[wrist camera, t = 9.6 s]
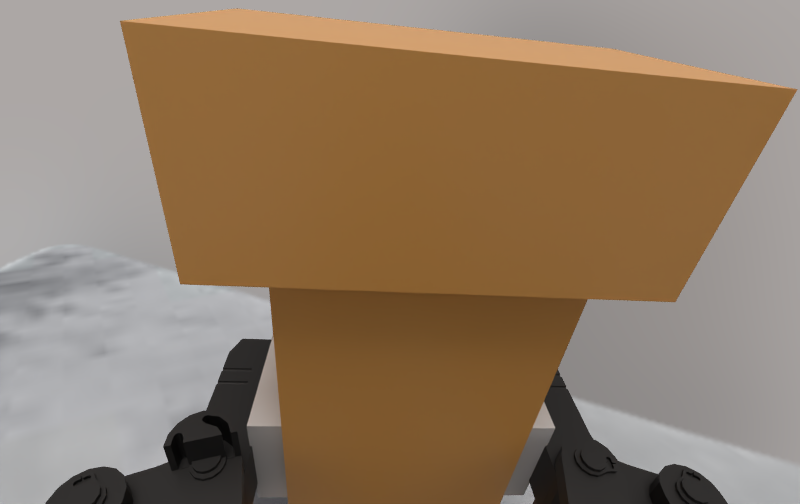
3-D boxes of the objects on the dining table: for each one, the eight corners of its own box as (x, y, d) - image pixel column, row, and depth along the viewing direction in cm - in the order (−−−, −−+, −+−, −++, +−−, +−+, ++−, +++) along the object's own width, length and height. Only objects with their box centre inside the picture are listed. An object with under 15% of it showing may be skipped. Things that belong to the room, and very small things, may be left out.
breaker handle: (284, 500, 16) (237, 8, 7) (463, 496, 16) (612, 48, 8) (261, 639, 12) (119, 20, 4) (488, 627, 13) (796, 89, 5)
